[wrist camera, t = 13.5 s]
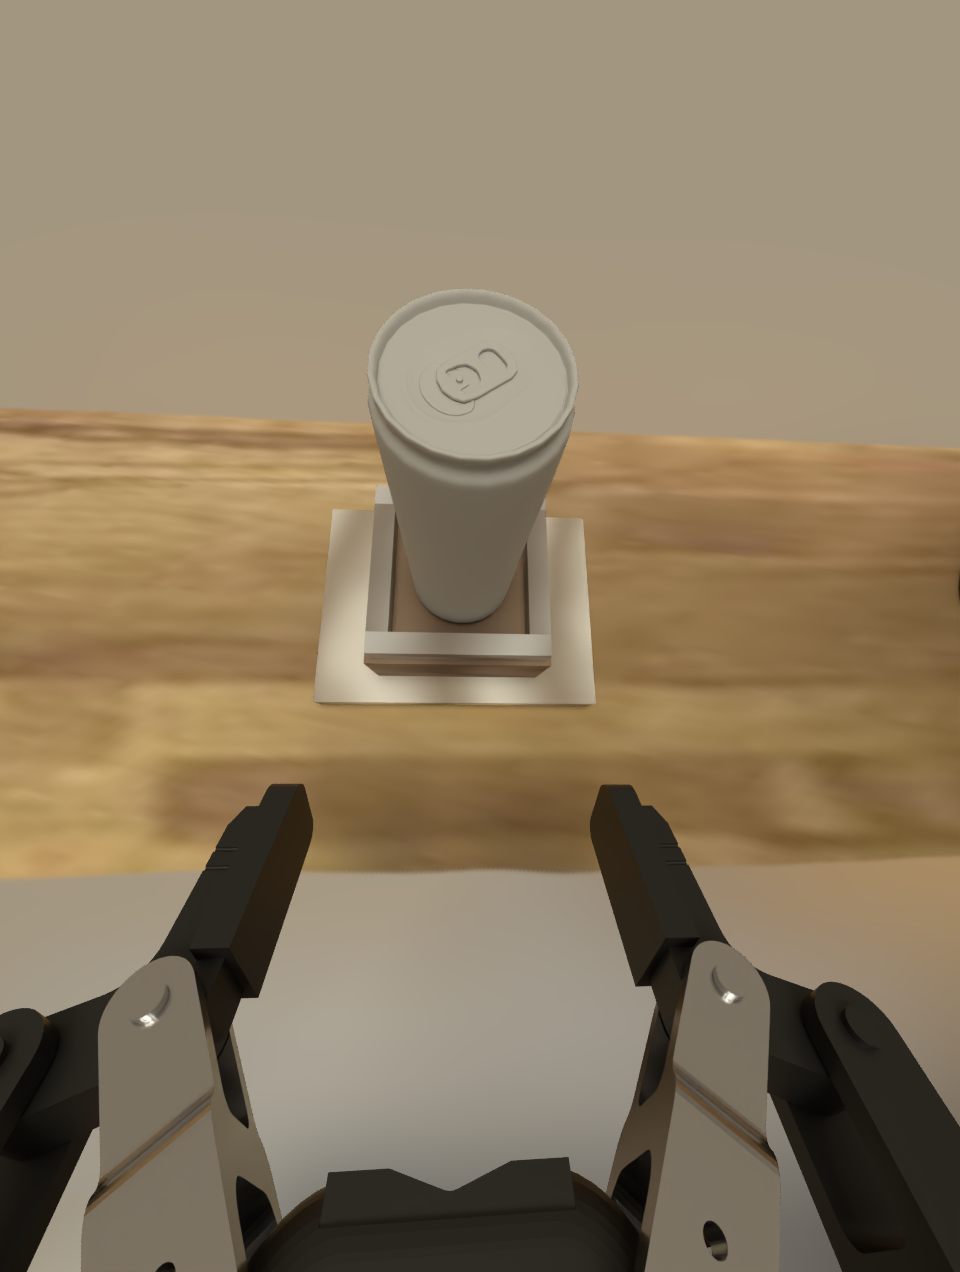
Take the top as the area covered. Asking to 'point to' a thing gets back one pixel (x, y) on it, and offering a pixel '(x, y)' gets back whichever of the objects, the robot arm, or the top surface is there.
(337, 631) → the pedestal base
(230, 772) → the top surface
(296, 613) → the top surface
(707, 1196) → the robot arm
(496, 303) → the beverage can
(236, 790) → the top surface
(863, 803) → the top surface
